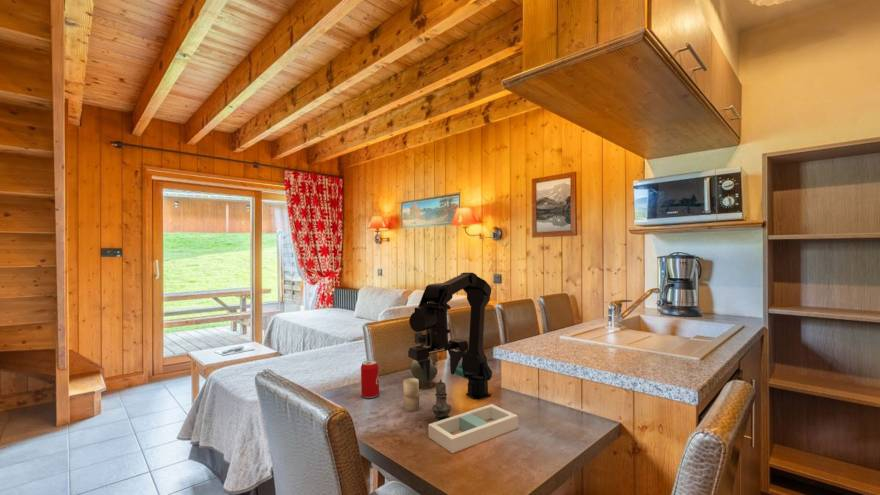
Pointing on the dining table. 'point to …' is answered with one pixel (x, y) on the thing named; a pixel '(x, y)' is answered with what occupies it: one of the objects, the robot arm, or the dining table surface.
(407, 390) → the wooden peg
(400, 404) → the dining table surface
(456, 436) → the housing
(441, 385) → the salt shaker
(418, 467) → the dining table surface
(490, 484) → the dining table surface
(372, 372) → the beverage can
